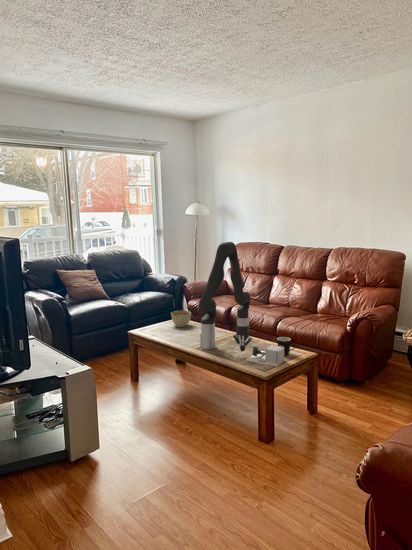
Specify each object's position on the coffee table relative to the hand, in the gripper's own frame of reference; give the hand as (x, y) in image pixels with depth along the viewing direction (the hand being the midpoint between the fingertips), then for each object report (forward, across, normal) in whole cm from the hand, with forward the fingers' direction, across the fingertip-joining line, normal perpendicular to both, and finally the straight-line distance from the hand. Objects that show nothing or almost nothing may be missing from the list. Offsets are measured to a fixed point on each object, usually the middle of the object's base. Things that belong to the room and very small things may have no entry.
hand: (242, 350), depth 257 cm
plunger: (+2, +15, -2) cm, 16 cm away
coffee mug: (+4, +22, +15) cm, 27 cm away
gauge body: (+3, +16, 0) cm, 16 cm away
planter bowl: (+5, -74, +39) cm, 84 cm away
